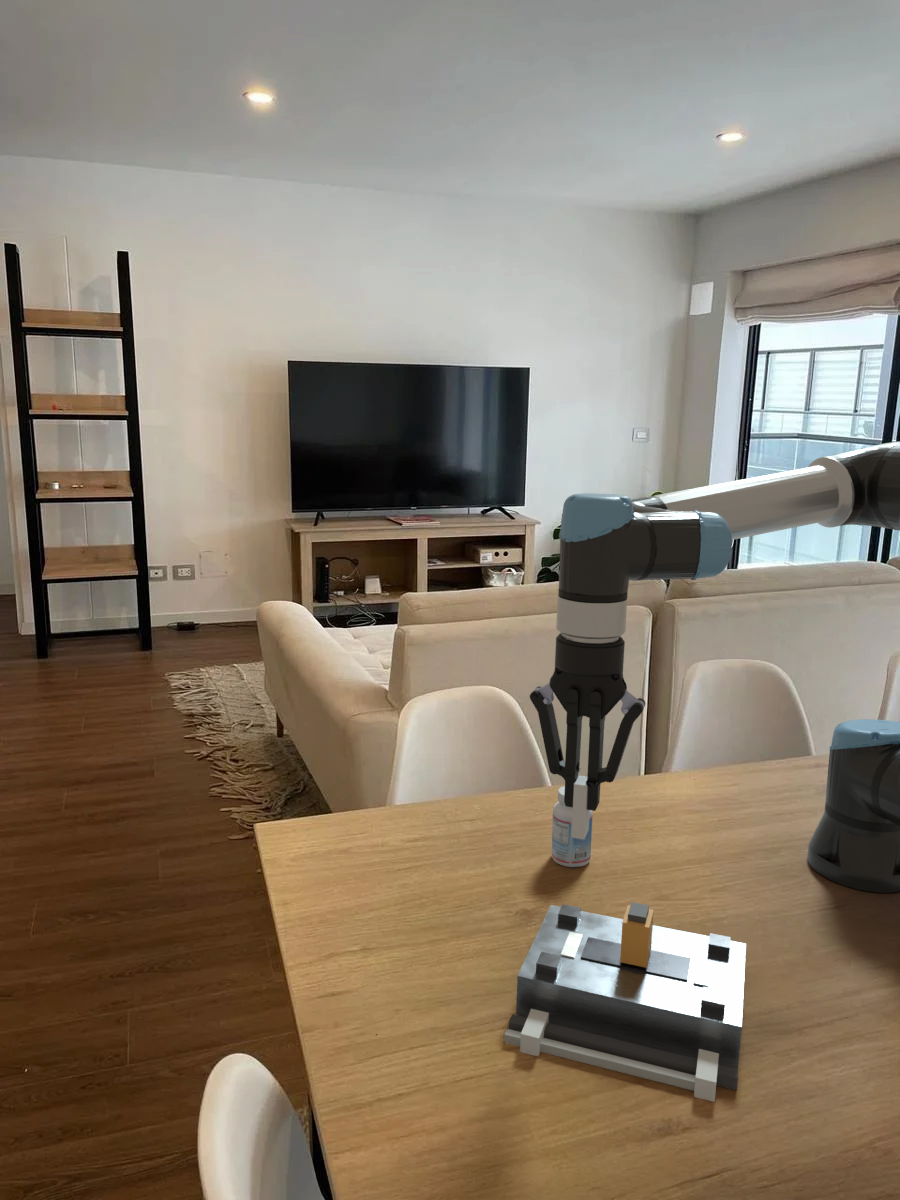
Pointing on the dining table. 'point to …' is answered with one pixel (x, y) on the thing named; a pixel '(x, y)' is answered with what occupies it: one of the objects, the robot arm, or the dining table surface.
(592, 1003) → the panel
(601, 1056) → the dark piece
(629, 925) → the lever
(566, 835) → the pill bottle
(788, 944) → the dining table surface
